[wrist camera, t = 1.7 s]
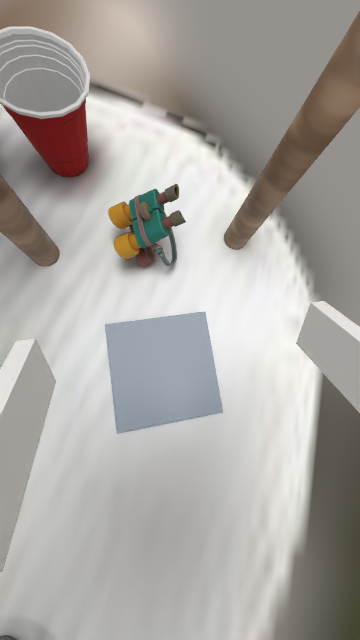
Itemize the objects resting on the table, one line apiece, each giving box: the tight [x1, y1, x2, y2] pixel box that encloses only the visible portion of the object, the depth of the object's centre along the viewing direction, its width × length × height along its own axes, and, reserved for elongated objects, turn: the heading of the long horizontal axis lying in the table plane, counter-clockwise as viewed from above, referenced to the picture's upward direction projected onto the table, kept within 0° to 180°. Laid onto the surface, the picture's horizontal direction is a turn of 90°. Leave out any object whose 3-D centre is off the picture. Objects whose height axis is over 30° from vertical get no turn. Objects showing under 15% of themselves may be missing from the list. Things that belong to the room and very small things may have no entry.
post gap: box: [0, 11, 360, 266], centre depth 23 cm, size 4×32×26 cm, turn 99°
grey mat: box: [105, 312, 223, 434], centre depth 32 cm, size 14×14×1 cm
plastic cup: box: [0, 27, 90, 177], centre depth 30 cm, size 11×11×12 cm
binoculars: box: [108, 184, 186, 267], centre depth 31 cm, size 9×9×10 cm
